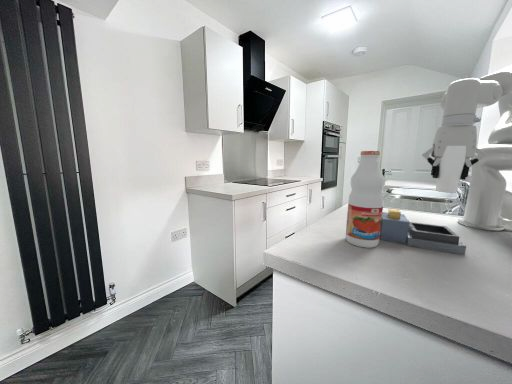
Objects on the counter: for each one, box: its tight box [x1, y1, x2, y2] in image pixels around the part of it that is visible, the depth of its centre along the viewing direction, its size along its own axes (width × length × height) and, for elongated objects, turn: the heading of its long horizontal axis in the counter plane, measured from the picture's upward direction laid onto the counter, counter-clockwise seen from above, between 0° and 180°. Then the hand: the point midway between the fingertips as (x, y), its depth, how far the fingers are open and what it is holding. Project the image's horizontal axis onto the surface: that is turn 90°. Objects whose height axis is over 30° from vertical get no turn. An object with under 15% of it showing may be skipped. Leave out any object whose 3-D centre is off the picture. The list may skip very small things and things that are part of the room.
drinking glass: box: [435, 146, 466, 194], centre depth 70 cm, size 7×7×15 cm
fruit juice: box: [345, 150, 386, 249], centre depth 64 cm, size 9×9×28 cm
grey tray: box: [379, 208, 467, 256], centre depth 68 cm, size 22×13×9 cm, turn 64°
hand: (448, 178), depth 70 cm, fingers closed on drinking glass, 6 cm apart
